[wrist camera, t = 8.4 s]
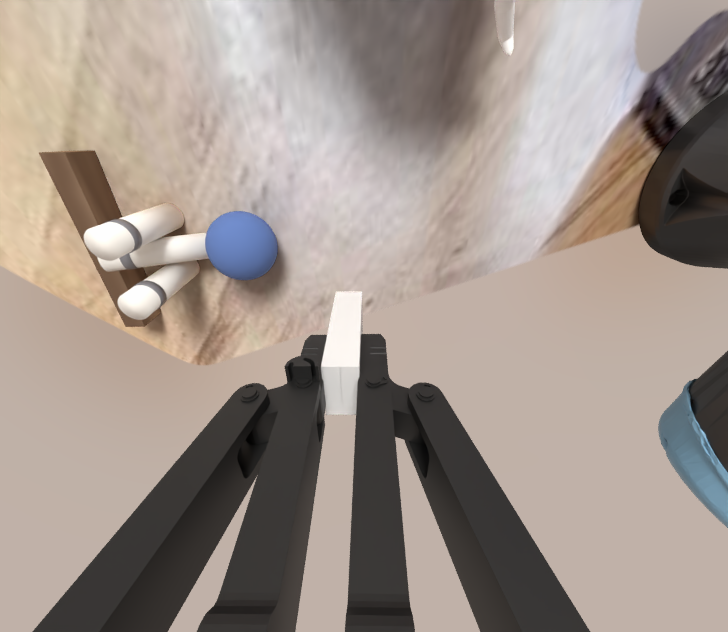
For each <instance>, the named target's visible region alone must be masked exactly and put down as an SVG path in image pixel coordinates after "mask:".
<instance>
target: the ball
mask: <svg viewBox="0 0 728 632" xmlns="http://www.w3.org/2000/svg"><path fill="white" fill-rule="evenodd" d="M205 248H206V252H207V255H208V258H209V260H210V261H211V263H212V264H213V265H214V267H215V268H216V269H217V270H218V271H220V272H221V273H222V274H224V275H226V276H228V277H230V278H233V279H237V280H252V279H255V278H258V277H260V276H262V275H264V274H265V273H266V272H268V271H269V270H270V269H271V267H272V266H273V264H274V262H275V260H276V257H277V251H278V245H277V240H276V237H275V234H274V232H273V231H272V229H271V228H270V226H269V225H268V224H267V223H266V222H265V221H264V220H262V219H261V218H260V217H258V216H256V215H254V214H251V213H248V212H242V211H234V212H229V213H226V214H223V215H221V216H220V217H218V218H217V219H216V220H215V221H213V223H212V224H211V225H210V227H209V229H208V231H207V233H206V238H205Z"/></svg>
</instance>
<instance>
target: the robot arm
mask: <svg viewBox="0 0 728 632" xmlns="http://www.w3.org/2000/svg"><path fill="white" fill-rule="evenodd" d="M639 224H640V228H641V232H642V235H643V237H644V239H645V241H646V242H647V243H648V245H649V246H650V247H651V248H652V249H654V250H655V251H656V252H658V253H660V254H662V255H664V256H667V257H669V258H671V259H674V260H677V261H679V262H682V263H685V264H689V265H693V266H700V267H713V268H728V91H727V92H726V93H724V94H722V95H721V96H719V97H718V98H716V99H715V100H714V101H712V102H711V103H710V104H708V105H707V106H706V107H704V108H703V109H702V110H701V111H700V112H698V113H697V114H696V115H695V116H694V117H693V118H692V119H691V120H690V121H689V122H688V123H687V124H686V125H685V126H684V127H683V128H682V129H681V130H680V131H679V132H678V133H677V134H676V135H675V137H674V138H673V139H672V140H671V141H670V143H669V144H668V145H667V147H666V148H665V149H664V151H663V152H662V154H661V155H660V157H659V158H658V160H657V161H656V163H655V165H654V167H653V168H652V170H651V172H650V174H649V176H648V179H647V181H646V183H645V186H644V189H643V192H642V196H641V200H640V206H639ZM285 371H286V376H287V384H285V385H284V386H281V387H278V388H274V389H270V390H267V389H266V387H265V386H264V385H261V384H259V383H252V384H248V385H245V386H243V387H241V388H239V389H238V390H237V391H236V392H235V393H234V394H233V395H232V396H231V397H230V399H229V400H228V401H227V402H226V403H225V405H224V406H223V407H222V408H221V409H220V410H219V412H218V413H217V414H216V415H215V416H214V418H213V419H212V420H211V421H210V422H209V423H208V425H207V426H206V427H205V428H204V430H203V431H202V432H201V433H200V434H199V435H198V437H197V438H196V439H195V440H194V441H193V442H192V444H191V445H190V446H189V447H188V448H187V450H186V451H185V452H184V453H183V454H182V455H181V457H180V458H179V459H178V460H177V461H176V463H175V464H174V465H173V466H172V467H171V469H170V470H169V471H168V472H167V473H166V474H165V476H164V477H163V478H162V479H161V480H160V482H159V483H158V484H157V485H156V486H155V487H154V489H153V490H152V491H151V492H150V493H149V494H148V496H147V497H146V498H145V499H144V501H143V502H142V503H141V504H140V505H139V506H138V508H137V509H136V510H135V511H134V512H133V514H132V515H131V516H130V517H129V518H128V519H127V521H126V522H125V523H124V524H123V525H122V527H121V528H120V529H119V530H118V531H117V532H116V534H115V535H114V536H113V537H112V538H111V539H110V541H109V542H108V543H107V544H106V546H105V547H104V548H103V549H102V550H101V551H100V553H99V554H98V555H97V556H96V557H95V559H94V560H93V561H92V562H91V563H90V564H89V566H88V567H87V568H86V569H85V570H84V572H83V573H82V574H81V575H80V576H79V577H78V579H77V580H76V581H75V582H74V583H73V585H72V586H71V587H70V588H69V589H68V590H67V592H66V593H65V594H64V595H63V596H62V598H61V599H60V600H59V601H58V602H57V603H56V605H55V606H54V607H53V608H52V610H51V611H50V612H49V613H48V614H47V615H46V616H45V618H44V619H43V620H42V621H41V622H40V624H39V625H38V626H37V627H36V628H35V630H34V631H33V632H168V630H169V628H170V626H171V625H172V623H173V621H174V619H175V618H176V616H177V614H178V613H179V611H180V609H181V607H182V606H183V604H184V602H185V600H186V598H187V597H188V595H189V593H190V592H191V590H192V588H193V586H194V585H195V583H196V581H197V579H198V578H199V576H200V574H201V572H202V571H203V569H204V567H205V565H206V563H207V562H208V560H209V558H210V556H211V555H212V553H213V551H214V550H215V548H216V546H217V545H218V543H219V541H220V539H221V538H222V536H223V534H224V532H225V531H226V529H227V527H228V525H229V524H230V522H231V520H232V518H233V517H234V515H235V513H236V511H237V510H238V508H239V506H240V504H241V502H242V501H243V499H244V497H245V496H246V494H247V492H248V490H249V489H250V487H251V485H252V483H253V482H254V480H255V478H256V477H257V479H256V482H255V485H254V488H253V491H252V495H251V498H250V501H249V504H248V507H247V510H246V513H245V516H244V520H243V523H242V526H241V529H240V532H239V535H238V538H237V541H236V545H235V548H234V551H233V554H232V557H231V560H230V563H229V566H228V569H227V572H226V576H225V579H224V582H223V585H222V588H221V591H220V594H219V597H218V599H217V602H216V603H215V605H214V607H212V608H211V609H210V610H209V611H208V612H207V613H206V614H205V616H204V618H203V620H202V621H201V623H200V625H199V628H198V630H197V632H295V629H296V622H297V615H298V608H299V601H300V594H301V587H302V580H303V573H304V565H305V560H306V552H307V546H308V539H309V532H310V525H311V518H312V511H313V504H314V497H315V490H316V483H317V476H318V469H319V463H320V456H321V449H322V442H323V435H324V428H325V421H324V413H325V410H326V415H356V430H355V454H354V476H353V497H352V521H351V543H350V566H349V587H348V605H347V613H346V624H345V632H415V629H414V622H413V615H412V612H411V608H410V602H409V591H408V580H407V568H406V557H405V545H404V534H403V523H402V511H401V499H400V488H399V478H398V477H399V476H398V465H397V455H396V443H395V437H398V438H401V439H404V440H405V443H406V446H407V448H408V451H409V453H410V456H411V458H412V461H413V463H414V466H415V468H416V471H417V473H418V476H419V478H420V481H421V483H422V486H423V488H424V491H425V493H426V496H427V499H428V501H429V503H430V506H431V509H432V511H433V514H434V516H435V519H436V521H437V524H438V526H439V529H440V531H441V534H442V536H443V539H444V541H445V544H446V546H447V548H448V551H449V554H450V556H451V559H452V561H453V564H454V566H455V569H456V571H457V574H458V576H459V579H460V581H461V584H462V586H463V589H464V591H465V594H466V597H467V599H468V601H469V604H470V607H471V609H472V612H473V614H474V617H475V619H476V622H477V624H478V627H479V629H480V632H590V631H589V629H588V628H587V626H586V624H585V623H584V621H583V619H582V618H581V616H580V615H579V613H578V611H577V610H576V608H575V607H574V605H573V603H572V602H571V600H570V599H569V597H568V595H567V594H566V592H565V591H564V589H563V587H562V586H561V584H560V582H559V581H558V579H557V578H556V576H555V574H554V573H553V571H552V569H551V568H550V566H549V565H548V563H547V561H546V560H545V558H544V556H543V555H542V553H541V552H540V550H539V548H538V547H537V545H536V544H535V542H534V540H533V539H532V537H531V535H530V534H529V532H528V531H527V529H526V527H525V526H524V524H523V523H522V521H521V519H520V518H519V516H518V515H517V513H516V511H515V510H514V508H513V506H512V505H511V503H510V502H509V500H508V498H507V497H506V495H505V493H504V492H503V490H502V489H501V487H500V486H499V484H498V482H497V481H496V479H495V477H494V476H493V474H492V472H491V471H490V469H489V468H488V466H487V464H486V463H485V461H484V460H483V458H482V456H481V455H480V453H479V451H478V450H477V448H476V447H475V445H474V443H473V442H472V440H471V439H470V437H469V435H468V434H467V432H466V430H465V429H464V427H463V426H462V424H461V422H460V421H459V419H458V418H457V416H456V414H455V413H454V411H453V410H452V408H451V406H450V405H449V403H448V401H447V400H446V398H445V397H444V395H443V393H442V392H441V391H440V389H439V388H438V387H436V386H434V385H432V384H429V383H417V384H414V385H413V386H412V387H411V388H410V389H409V388H405V387H402V386H399V385H397V384H395V383H394V382H393V381H392V380H391V379H390V378H389V375H388V365H387V354H386V342H385V339H384V338H383V336H382V335H381V334H362V292H336V294H335V299H334V304H333V309H332V314H331V319H330V324H329V329H328V334H327V335H311V336H309V337H308V338H307V340H305V343H304V346H303V349H302V353H301V356H298V357H295V358H293V359H291V360H290V361H288V362H287V364H286V365H285ZM658 431H659V437H660V440H661V444H662V446H663V447H664V449H665V451H666V454H667V457H668V459H669V461H670V463H671V464H672V466H673V467H674V469H675V470H676V472H677V473H678V474H679V476H680V477H681V479H682V480H683V481H684V483H685V484H686V485H687V486H688V488H689V489H690V490H691V491H692V492H693V494H694V495H695V496H696V497H697V498H698V499H699V500H700V501H701V502H702V503H703V504H704V505H705V507H706V508H707V509H709V511H710V512H711V513H712V514H713V515H715V516H716V518H718V519H719V520H720V521H721V522H722V523H723V524H724V525H725V526H726V527H727V528H728V351H727V352H726V353H725V354H724V355H723V356H722V357H720V358H719V359H718V360H717V361H716V362H715V363H714V364H713V365H712V366H711V367H710V368H709V369H708V370H707V371H705V372H704V373H703V374H702V375H701V376H700V377H699V378H698V379H694V380H692V381H689V382H688V383H687V384H686V385H685V386H684V389H683V392H682V393H681V394H680V396H679V397H678V398H677V399H676V400H675V401H674V402H673V403H672V404H671V405H670V406H669V407H668V408H667V409H666V410H665V411H664V413H663V414H662V416H661V418H660V421H659V426H658ZM257 475H258V476H257Z"/></svg>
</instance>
